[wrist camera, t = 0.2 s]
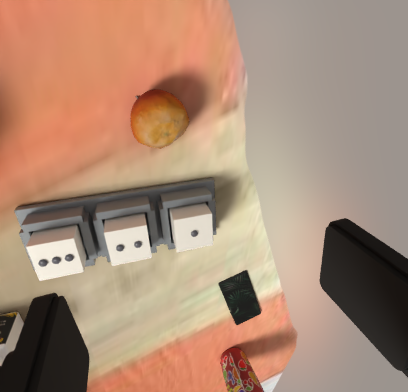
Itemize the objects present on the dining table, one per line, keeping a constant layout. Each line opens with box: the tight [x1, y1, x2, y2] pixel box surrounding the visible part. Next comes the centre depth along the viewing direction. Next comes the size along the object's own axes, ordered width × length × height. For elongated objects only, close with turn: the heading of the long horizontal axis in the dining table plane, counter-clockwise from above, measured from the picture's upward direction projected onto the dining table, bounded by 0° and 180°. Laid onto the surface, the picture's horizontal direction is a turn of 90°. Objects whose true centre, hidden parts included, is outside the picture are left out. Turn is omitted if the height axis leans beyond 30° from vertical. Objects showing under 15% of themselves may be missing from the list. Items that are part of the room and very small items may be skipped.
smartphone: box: [219, 270, 261, 325], centre depth 64 cm, size 7×1×15 cm
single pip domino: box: [169, 202, 213, 252], centre depth 45 cm, size 6×6×4 cm
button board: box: [14, 178, 216, 271], centre depth 46 cm, size 11×31×4 cm, turn 93°
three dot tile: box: [26, 224, 87, 281], centre depth 41 cm, size 6×6×4 cm
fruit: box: [131, 89, 189, 149], centre depth 39 cm, size 8×8×8 cm
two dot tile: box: [104, 212, 152, 266], centre depth 43 cm, size 6×6×4 cm
